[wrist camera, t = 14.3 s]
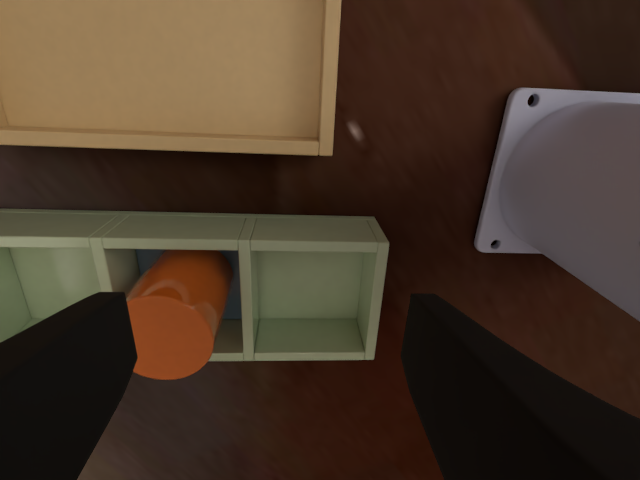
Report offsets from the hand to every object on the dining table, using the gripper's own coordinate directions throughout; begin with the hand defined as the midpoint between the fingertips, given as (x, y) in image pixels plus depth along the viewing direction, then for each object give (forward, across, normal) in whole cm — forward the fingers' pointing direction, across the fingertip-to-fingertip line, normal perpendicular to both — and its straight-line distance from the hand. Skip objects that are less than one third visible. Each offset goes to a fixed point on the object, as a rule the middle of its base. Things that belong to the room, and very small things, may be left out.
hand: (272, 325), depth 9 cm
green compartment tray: (+9, +4, +4) cm, 11 cm away
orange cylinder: (+9, +4, +4) cm, 10 cm away
